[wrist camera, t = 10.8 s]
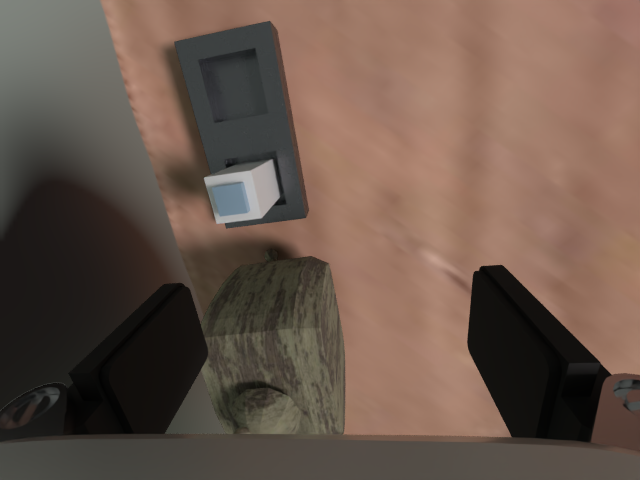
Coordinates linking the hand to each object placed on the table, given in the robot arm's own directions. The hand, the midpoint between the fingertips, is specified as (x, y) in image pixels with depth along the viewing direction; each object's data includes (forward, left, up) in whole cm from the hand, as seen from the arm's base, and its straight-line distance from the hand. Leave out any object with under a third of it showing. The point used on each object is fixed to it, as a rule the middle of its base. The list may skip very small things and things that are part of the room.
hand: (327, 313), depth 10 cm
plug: (-1, -9, -25) cm, 26 cm away
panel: (-6, -9, -26) cm, 28 cm away
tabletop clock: (+13, -7, -26) cm, 30 cm away
